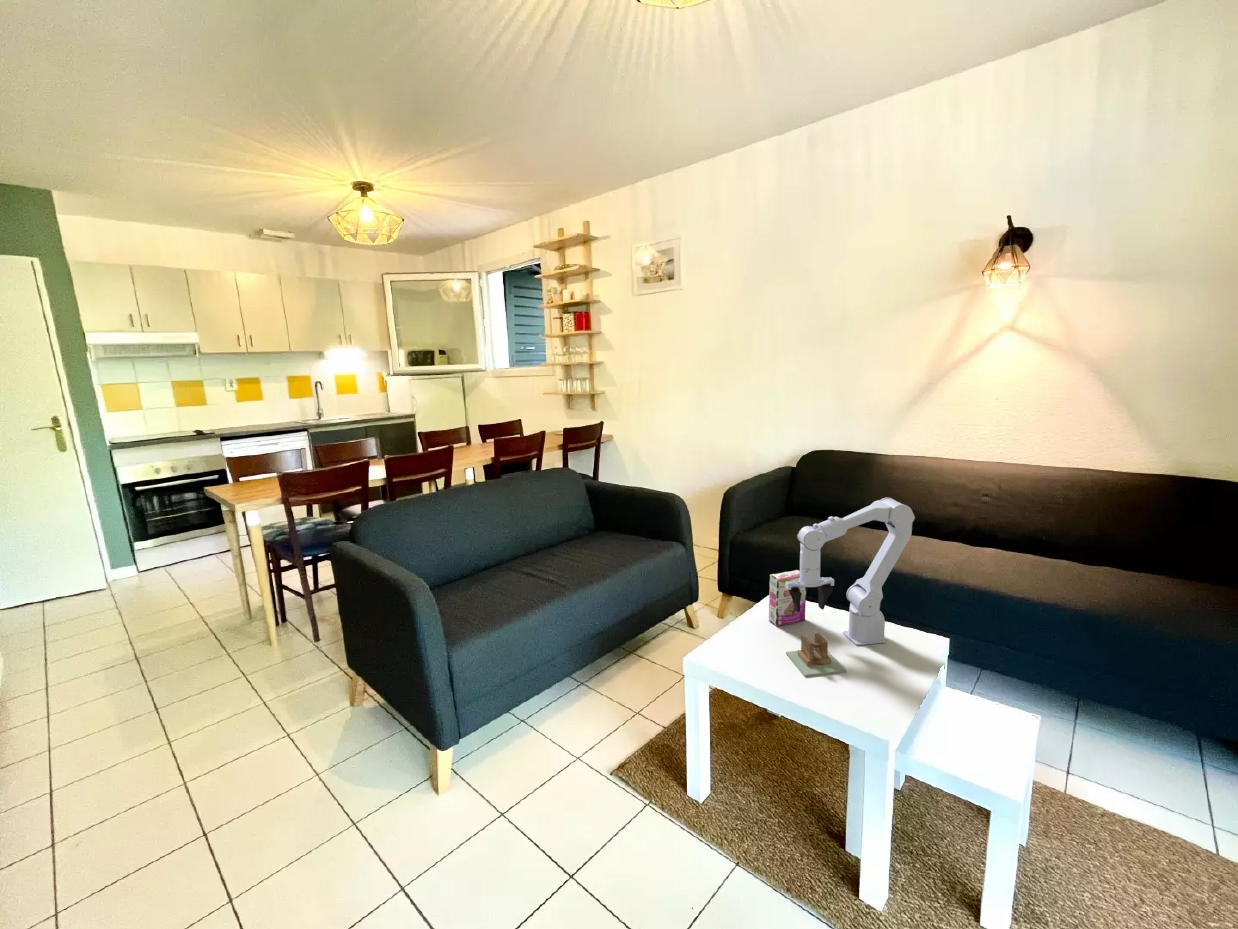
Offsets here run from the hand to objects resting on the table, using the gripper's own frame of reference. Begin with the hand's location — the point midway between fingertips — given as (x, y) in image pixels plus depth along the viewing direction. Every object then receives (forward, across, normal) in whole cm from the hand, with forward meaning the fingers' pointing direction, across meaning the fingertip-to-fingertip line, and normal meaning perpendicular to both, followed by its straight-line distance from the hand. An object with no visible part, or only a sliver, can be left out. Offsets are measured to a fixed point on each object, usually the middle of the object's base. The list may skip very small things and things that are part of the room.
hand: (809, 609), depth 159 cm
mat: (+10, +4, +12) cm, 16 cm away
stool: (+10, +4, +11) cm, 15 cm away
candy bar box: (+10, +1, -13) cm, 17 cm away
